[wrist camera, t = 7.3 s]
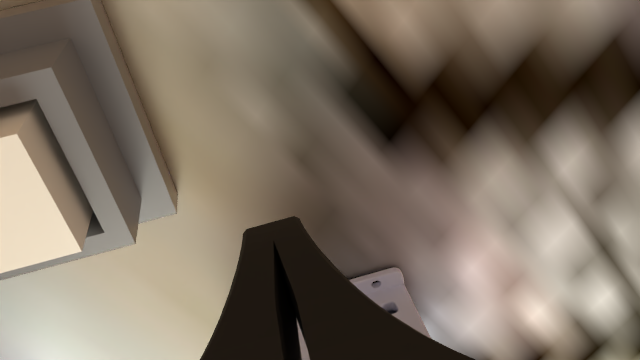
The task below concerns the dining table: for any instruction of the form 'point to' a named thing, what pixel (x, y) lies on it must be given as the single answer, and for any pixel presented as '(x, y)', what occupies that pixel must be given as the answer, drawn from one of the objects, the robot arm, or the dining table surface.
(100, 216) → the key panel
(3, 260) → the cream key
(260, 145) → the dining table surface
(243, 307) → the robot arm
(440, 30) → the dining table surface
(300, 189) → the dining table surface
